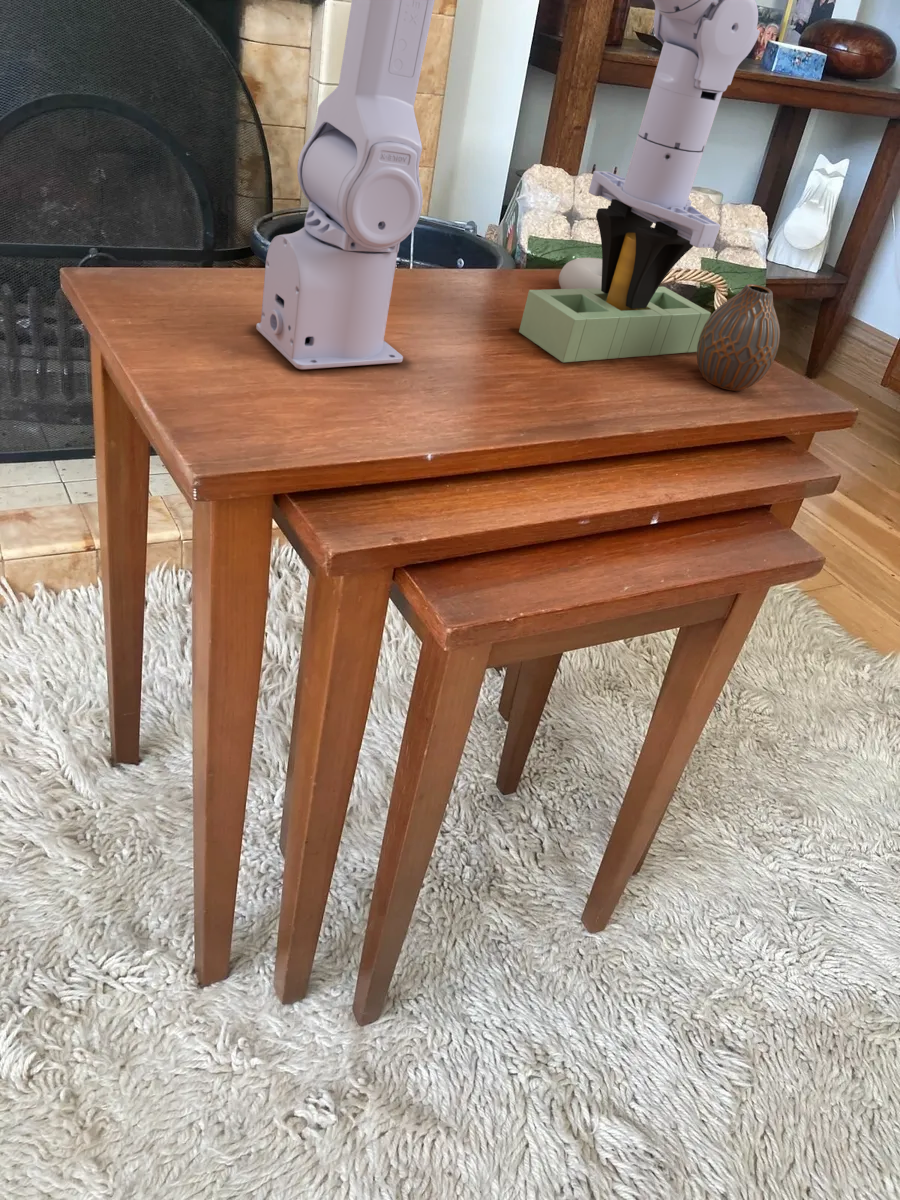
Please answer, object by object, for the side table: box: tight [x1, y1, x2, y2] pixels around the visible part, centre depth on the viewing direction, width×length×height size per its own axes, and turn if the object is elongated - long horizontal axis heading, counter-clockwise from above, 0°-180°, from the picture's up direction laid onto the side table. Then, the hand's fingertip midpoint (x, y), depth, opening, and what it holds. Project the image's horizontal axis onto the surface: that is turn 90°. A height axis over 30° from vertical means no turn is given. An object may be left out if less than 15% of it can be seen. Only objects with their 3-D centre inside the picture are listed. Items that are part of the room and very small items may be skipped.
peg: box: [606, 233, 638, 311], centre depth 89 cm, size 3×3×8 cm
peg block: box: [518, 286, 712, 364], centre depth 91 cm, size 17×7×4 cm, turn 123°
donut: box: [558, 257, 602, 289], centre depth 100 cm, size 10×4×10 cm
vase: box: [696, 283, 781, 392], centre depth 87 cm, size 7×7×9 cm
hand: (623, 299), depth 89 cm, fingers closed on peg, 3 cm apart
